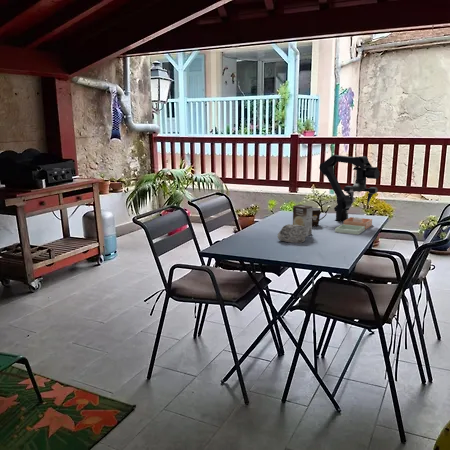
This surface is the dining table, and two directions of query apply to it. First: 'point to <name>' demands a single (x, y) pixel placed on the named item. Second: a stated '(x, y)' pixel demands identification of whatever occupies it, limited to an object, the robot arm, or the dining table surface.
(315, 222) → the coffee mug
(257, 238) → the dining table surface
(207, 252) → the dining table surface
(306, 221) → the coffee box
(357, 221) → the grey block
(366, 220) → the terracotta bin
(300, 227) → the rock
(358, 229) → the pale green tray
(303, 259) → the dining table surface
